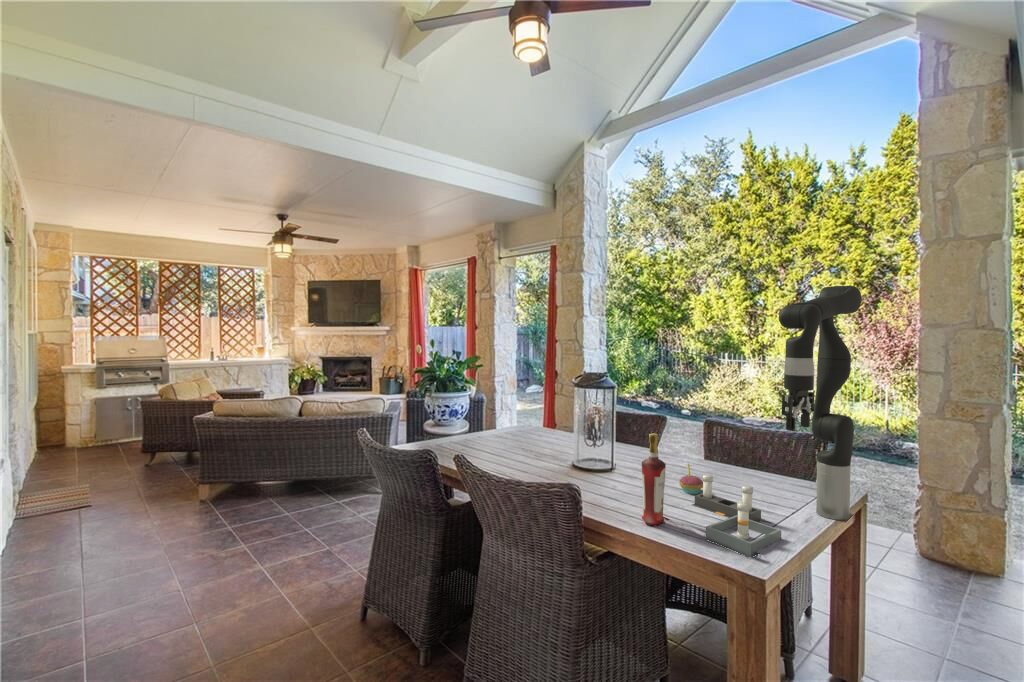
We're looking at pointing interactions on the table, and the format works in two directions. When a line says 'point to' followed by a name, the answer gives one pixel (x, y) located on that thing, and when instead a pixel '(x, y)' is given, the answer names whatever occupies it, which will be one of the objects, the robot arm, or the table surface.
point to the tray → (739, 544)
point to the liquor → (653, 484)
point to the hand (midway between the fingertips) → (798, 428)
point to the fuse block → (724, 507)
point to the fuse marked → (743, 520)
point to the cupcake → (691, 483)
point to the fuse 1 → (707, 486)
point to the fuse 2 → (747, 495)
